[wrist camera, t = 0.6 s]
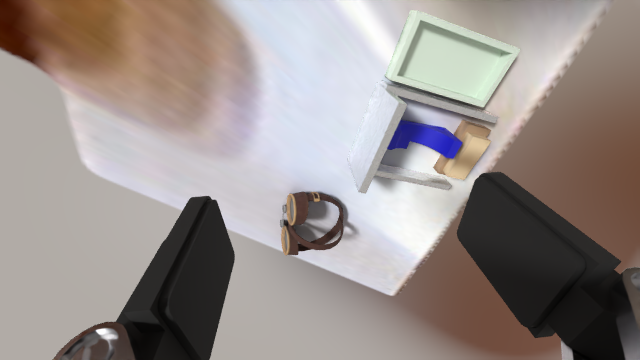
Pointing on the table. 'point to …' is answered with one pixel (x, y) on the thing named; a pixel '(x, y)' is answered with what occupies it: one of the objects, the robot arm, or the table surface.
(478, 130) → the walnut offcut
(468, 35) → the sage tray
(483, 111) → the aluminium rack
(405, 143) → the cable clip
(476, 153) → the oak offcut
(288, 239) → the goggles
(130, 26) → the table surface
